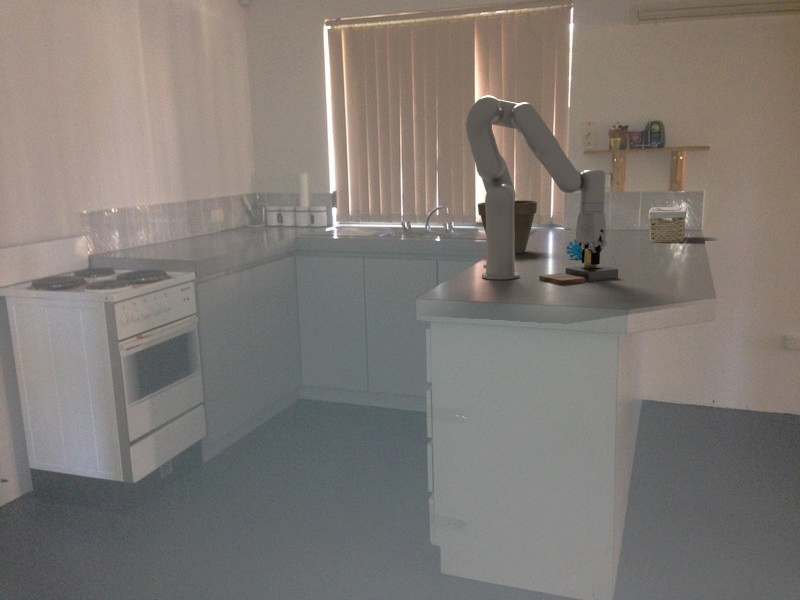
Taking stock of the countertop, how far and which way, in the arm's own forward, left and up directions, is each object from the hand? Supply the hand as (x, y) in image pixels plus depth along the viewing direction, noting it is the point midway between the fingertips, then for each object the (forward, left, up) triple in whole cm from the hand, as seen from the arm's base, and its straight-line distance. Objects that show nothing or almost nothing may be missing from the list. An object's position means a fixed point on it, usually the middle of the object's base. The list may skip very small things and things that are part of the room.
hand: (590, 263), depth 237 cm
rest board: (+1, -12, -5) cm, 13 cm away
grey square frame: (0, 0, -5) cm, 5 cm away
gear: (-38, +27, -5) cm, 47 cm away
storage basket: (-64, +98, -5) cm, 117 cm away
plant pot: (-73, +15, -5) cm, 75 cm away
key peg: (0, 0, -4) cm, 4 cm away
